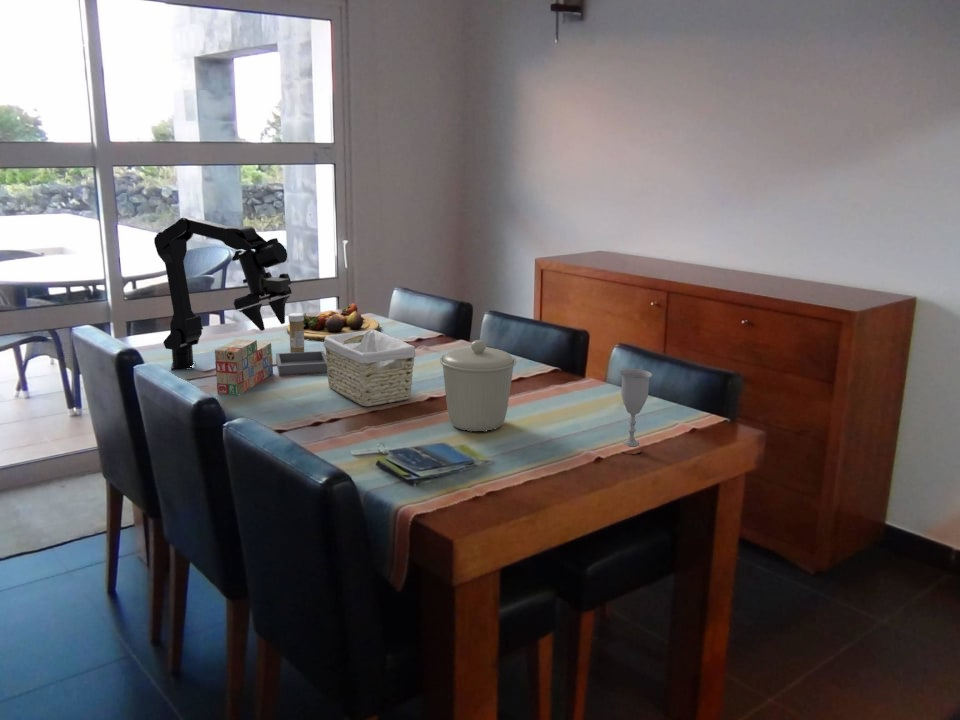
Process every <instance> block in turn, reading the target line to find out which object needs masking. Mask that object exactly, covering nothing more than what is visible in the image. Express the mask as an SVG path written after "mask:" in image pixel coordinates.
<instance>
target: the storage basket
mask: <svg viewBox="0 0 960 720" xmlns="http://www.w3.org/2000/svg"><path fill="white" fill-rule="evenodd" d="M349 344H350V345H351V344H359V345H356V346H354V347H353V348H352V347H349V346H347V345H349ZM323 347H324V348H325V356H326V359H327V361H326V365H327V373H326V374H327V380H328V387H329V388H330V389H332V390H333V391H335V392H337V393H339V394H340V395H342V396H344V397H346V398H347V399H349V400H351V401H353V402H355V403H357V404H358V405H360V406H362V407H371V406H372V407H373V406H378V405H384V404H387V403H388V404H391V403H395V402H400V401H405V400H409V399H410V398H411V395H412V394H411V392H412V386H413V372H414V369H413V368H414V364H415V358H416V357H417V355H416V348H415V346H414V345H411V344H410V343H408V342H405V341H403V340H401V339H397V338H395V337H392V336H390V335H387V334H385V333H383V332H380V331H379V330H378V331H376V330H368V331H359V332H351V333H344V334H337V335H329V336H326V337H325V341H323Z"/></svg>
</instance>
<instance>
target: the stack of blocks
mask: <svg viewBox="0 0 960 720" xmlns="http://www.w3.org/2000/svg"><path fill="white" fill-rule="evenodd" d="M272 352H273V351H272V343H271V342H264V341H257V339H245V338H236V339H233V340H232V341H229V342H227V343H226V344H224V345H222V346H219V347H218V348H216V349H214V358H215V359H214V360H215V362H214V363H215V374H216V388H217V391H216V392H217V394H219V395H220V394H221V395H230V394H231V395H233V396H240V395H241V393H242V394H243V393H245V392H247V391H248V390H250V389H251V387H252V388H253V387H255V385H257V384H259V383H260V382H262V381H263V380H265V379H267V378H268V377H269V376H271V375H273V374H274V366H273V365H274V364H273V353H272ZM246 390H247V391H246ZM239 394H240V395H239Z"/></svg>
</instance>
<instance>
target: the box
mask: <svg viewBox="0 0 960 720" xmlns="http://www.w3.org/2000/svg"><path fill="white" fill-rule="evenodd" d="M275 359H276V367H277V372H278V376H279V377H287V376H304V375H317V374H318V375H321V374H328V373H327V365H326V361H327V359H326V352H324V350H314V351H304V352H295V353H290V352H279V353H278V352H277V353H275Z"/></svg>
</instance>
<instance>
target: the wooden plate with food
mask: <svg viewBox="0 0 960 720" xmlns="http://www.w3.org/2000/svg"><path fill="white" fill-rule="evenodd" d="M343 308H344V309H342V310H341V313H340V312H338V311H334V310H326V311H324V312H321V313H319V314H317V315H307V312H305V313H304V314H303V315H304V320H303V321H304V322H303V325H304V340H305V339H309V340H308V341H312V340H317V341H316V342H324V341H325V337H326V336H329V335H337V334H344V333H351V332H359V331H368V330H376V331H378V332H379V330H380V323H379V322H378V321H377V320H376V319H374V318H370V317H367V316H362V314H361V313H360V312H358V305H356V303H349V305H346V306H344V307H343ZM286 327H287V328H286V333H287V334H288V335H289V336H290V324H289V325H287V326H286Z"/></svg>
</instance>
